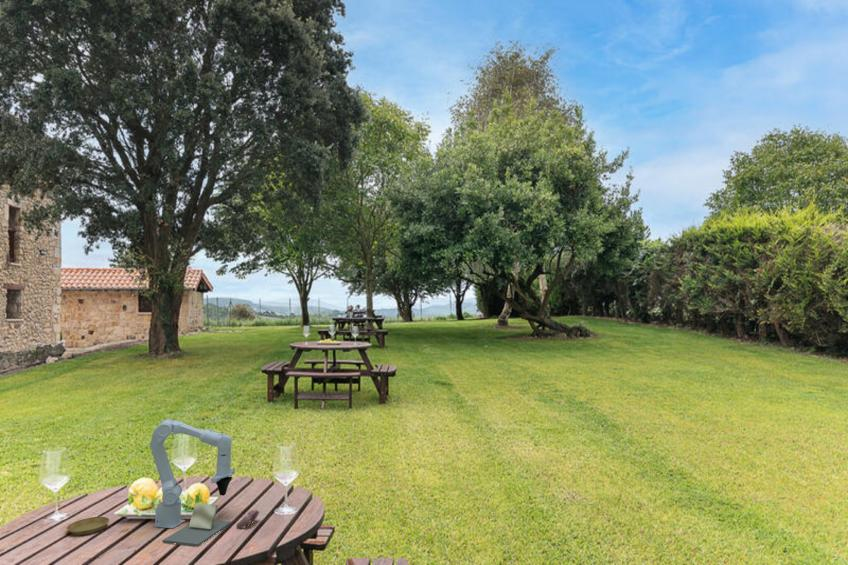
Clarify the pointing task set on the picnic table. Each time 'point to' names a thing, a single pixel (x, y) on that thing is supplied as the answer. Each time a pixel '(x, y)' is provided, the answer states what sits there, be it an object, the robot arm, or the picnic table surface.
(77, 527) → the plant saucer
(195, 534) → the board
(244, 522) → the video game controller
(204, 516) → the tile
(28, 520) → the picnic table surface
